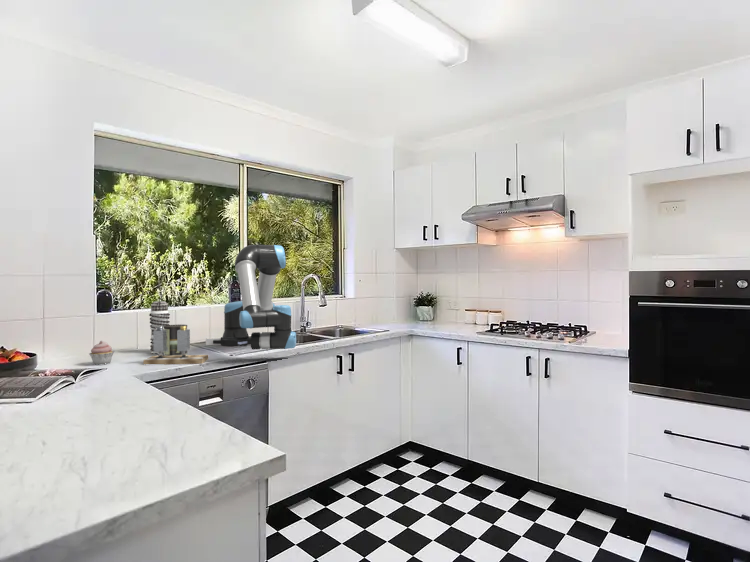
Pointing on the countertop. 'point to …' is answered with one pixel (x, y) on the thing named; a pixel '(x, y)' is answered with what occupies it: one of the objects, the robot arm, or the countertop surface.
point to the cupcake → (101, 353)
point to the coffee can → (172, 340)
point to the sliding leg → (183, 340)
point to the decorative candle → (158, 318)
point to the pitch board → (176, 359)
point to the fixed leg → (159, 341)
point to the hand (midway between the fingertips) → (206, 341)
